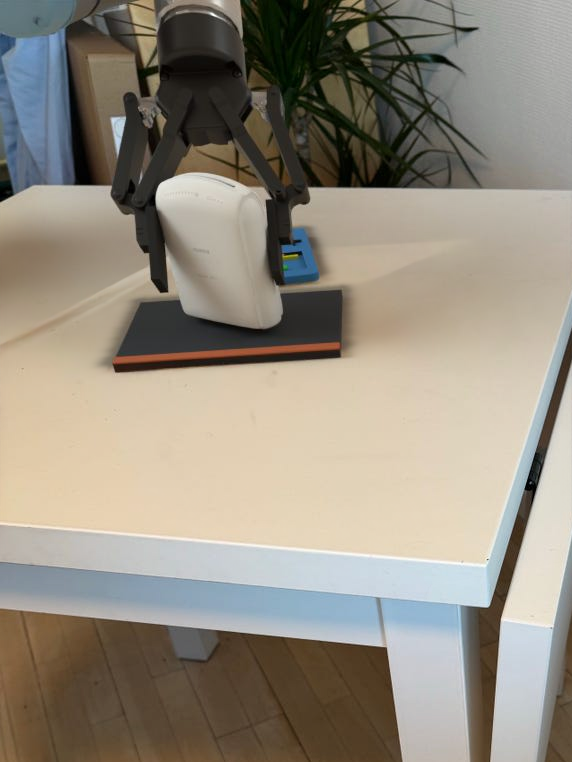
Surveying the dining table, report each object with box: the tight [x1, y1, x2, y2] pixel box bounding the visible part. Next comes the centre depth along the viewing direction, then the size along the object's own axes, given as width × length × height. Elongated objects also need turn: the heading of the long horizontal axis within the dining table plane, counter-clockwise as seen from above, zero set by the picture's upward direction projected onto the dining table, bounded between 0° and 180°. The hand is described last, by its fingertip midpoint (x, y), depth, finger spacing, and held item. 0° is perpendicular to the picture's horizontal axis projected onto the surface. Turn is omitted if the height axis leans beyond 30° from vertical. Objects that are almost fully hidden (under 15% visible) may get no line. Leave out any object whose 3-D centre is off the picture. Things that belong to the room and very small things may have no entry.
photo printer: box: [156, 172, 283, 329], centre depth 81 cm, size 10×4×12 cm, turn 62°
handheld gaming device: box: [282, 227, 320, 286], centre depth 99 cm, size 8×1×15 cm
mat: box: [112, 289, 344, 373], centre depth 86 cm, size 20×14×1 cm
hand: (219, 282), depth 80 cm, fingers closed on photo printer, 10 cm apart
